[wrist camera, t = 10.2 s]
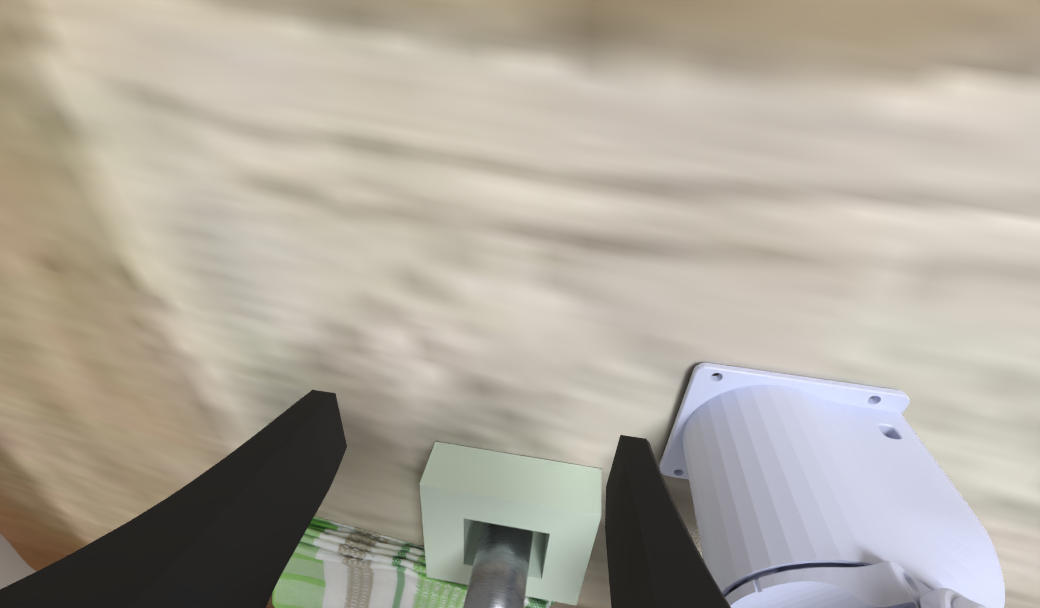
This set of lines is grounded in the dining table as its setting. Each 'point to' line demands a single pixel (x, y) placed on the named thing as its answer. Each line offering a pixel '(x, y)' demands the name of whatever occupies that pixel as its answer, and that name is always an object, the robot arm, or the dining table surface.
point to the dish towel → (364, 573)
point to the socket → (510, 514)
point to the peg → (500, 568)
